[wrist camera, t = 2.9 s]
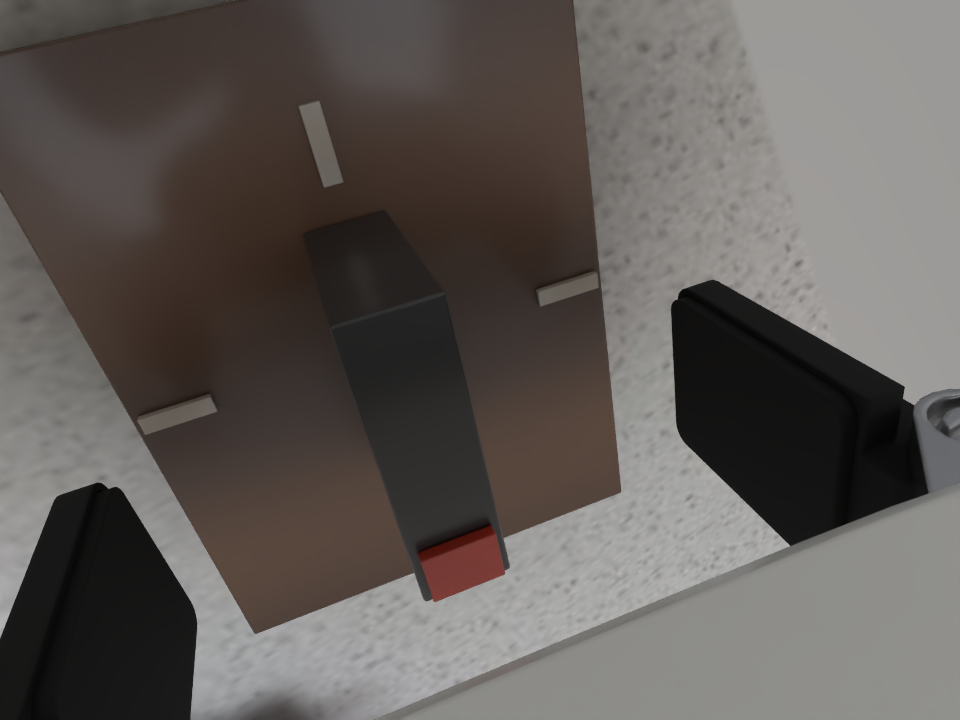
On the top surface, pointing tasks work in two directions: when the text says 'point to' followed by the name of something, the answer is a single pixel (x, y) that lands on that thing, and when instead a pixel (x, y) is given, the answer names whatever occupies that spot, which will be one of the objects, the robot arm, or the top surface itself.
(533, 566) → the top surface
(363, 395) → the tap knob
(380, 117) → the brown flat block
